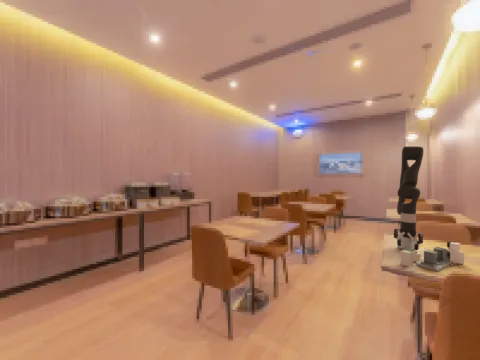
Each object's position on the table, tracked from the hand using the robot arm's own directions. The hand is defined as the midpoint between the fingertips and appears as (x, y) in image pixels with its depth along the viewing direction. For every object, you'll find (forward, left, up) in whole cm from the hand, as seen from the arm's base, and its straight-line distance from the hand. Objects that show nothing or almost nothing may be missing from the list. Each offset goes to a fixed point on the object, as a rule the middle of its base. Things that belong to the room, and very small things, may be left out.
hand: (407, 248), depth 132 cm
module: (0, 0, -10) cm, 10 cm away
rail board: (+8, +15, -10) cm, 20 cm away
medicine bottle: (+11, +31, -10) cm, 34 cm away
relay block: (-1, +12, -10) cm, 16 cm away
